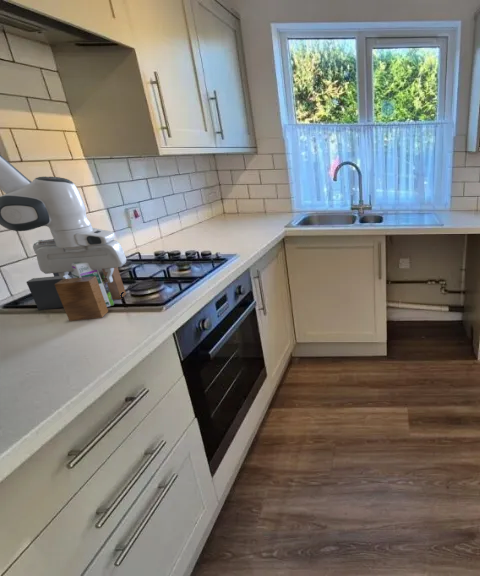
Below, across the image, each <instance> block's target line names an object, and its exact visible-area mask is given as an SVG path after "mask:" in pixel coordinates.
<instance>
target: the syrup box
mask: <svg viewBox="0 0 480 576" xmlns="http://www.w3.org/2000/svg"><path fill="white" fill-rule="evenodd" d="M72 267H73V270H74V271H72V272H71V273H72V276H73V278H81V277H91V276H96V278H97V281H98V283H99V286H100V289H101V292H102V295H103V297H104V300H105V303H106V306H107V308H109V307H112V306H114V305H115V303H114V300H113V299H112V296H111V294H110V291H109V288H108V285H107V283H105V282H104V281H105V280H104V279H103V278H104V274H103V271H102V269H95V270H92V269H91V268H90V266H89V264H88V263H72Z"/></svg>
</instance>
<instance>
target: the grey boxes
mask: <svg viewBox="0 0 480 576" xmlns="http://www.w3.org/2000/svg"><path fill="white" fill-rule="evenodd" d="M52 275H53V276H44V277H34V278H33V277H32V278H31V279H29V280H27V281H26V282H25V283H26V285H27V288H28V289H29V292H30V294H31V296H32V298H33V301H34V303H35V305H36V307H37V310H38V311H43V310H44V311H45V310H51V309H62V308H63V309H64V307H63V304H62V302H61V299H60V297H59V294H58V292H57V290H56V287H55V285H54V284H56V283H57V282H59V281H61V280H62V278H61V277H60V276H59V274H58V273H52ZM68 275H69V276H70V277H71V278H73V276H72V273H71V272H69V273H68Z"/></svg>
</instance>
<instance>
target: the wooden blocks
mask: <svg viewBox="0 0 480 576" xmlns="http://www.w3.org/2000/svg"><path fill="white" fill-rule="evenodd" d="M102 271H103V274H104V277H105V276H107V273H108V272H105V269H102ZM112 278H113V282H111V283H107V285H108V288H109V291H110V294H111V296H112V299H113V301H115V300H122V299H123V298H124V297H125V296H126V295H127V292H126V289H125V286H124V283H123V280H122V277H121V273H120V270H119V267H117V268H114V271H113V274H112ZM54 285H55V287H56V290H57V292H58V294H59V297H60V299H61V302H62V304H63V309H64V311H65V314H66V316H67V319H68V322H75V321H83V320H91V319H100V318H103V317H104V316H106V314H108V313H109V309H108V307H107V306H106V303H105V300H104V297H103V295H102V292H101V289H100V286H99V283H98V281H97V278H96V276H91V277H81V278H70V279H62V280H61V281H59V282H57V283H56V284H54ZM122 292H124V293H123V294H122V297H123V298H121V296H120V295H121V293H122Z"/></svg>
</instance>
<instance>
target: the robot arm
mask: <svg viewBox="0 0 480 576" xmlns="http://www.w3.org/2000/svg"><path fill="white" fill-rule="evenodd" d="M0 190H1V191H2V192H4V193H5V194H2V195H0V226H1V227H3V228H5V229H7V230H9V231H13V232H28V231H33V230H35V229H38V228H41V227H47V228H48V229H49V230H50V233H51V236H52V238H51V239H39V240H36V241H35V242H34V243H33V245H32V249H33V251H34V253H35V254H36V255H35V256H36V260H37V265H38V267H39V270H40V271H41V272H42V273H43V274H45V275H47V274H53V273H58V274H59V276H60V277H61V278H62V279H70V278H71V277H70V276H69V275H68V273H69V272H72V271H74V270H73V267H72V263H88V264H89V266H90V268H91V269H92V270H95V269H105V272H108V273H107V276H105V277H104V278H103V279H104V280H105V281H104V282H105V283H111V282H113V278H112V274H113V271H114V268H117V267H118V268H121V267H123V266H125V265H126V263H127V257H126V254H125V251H124V249H123V247H122V244H121V243H120V242H119V241H117V240H115V239H116V233H115V232H113V231H111V230H106V229H102V228H101V229H100V228H97V227H93V226H92V223H91V221H90V220H89V219H88V217H87V209H86V206H85V203H84V200H83V198H82V195H81V193H80V191H79V189H78V187H77V185H76V184H75V183H74V182H73V181H72V180H70V179H68V178H64V177H61V176H60V177H59V176H38V177H35V178H34V179H33V180H30V178H28V177H26V176H25V175H24V173H22V172H21V171H19V169H17V167H16V166H14V165H12V163H11V162H9V160H7V159H6V158H5V157H4V156H3V155H2V154H0Z"/></svg>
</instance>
